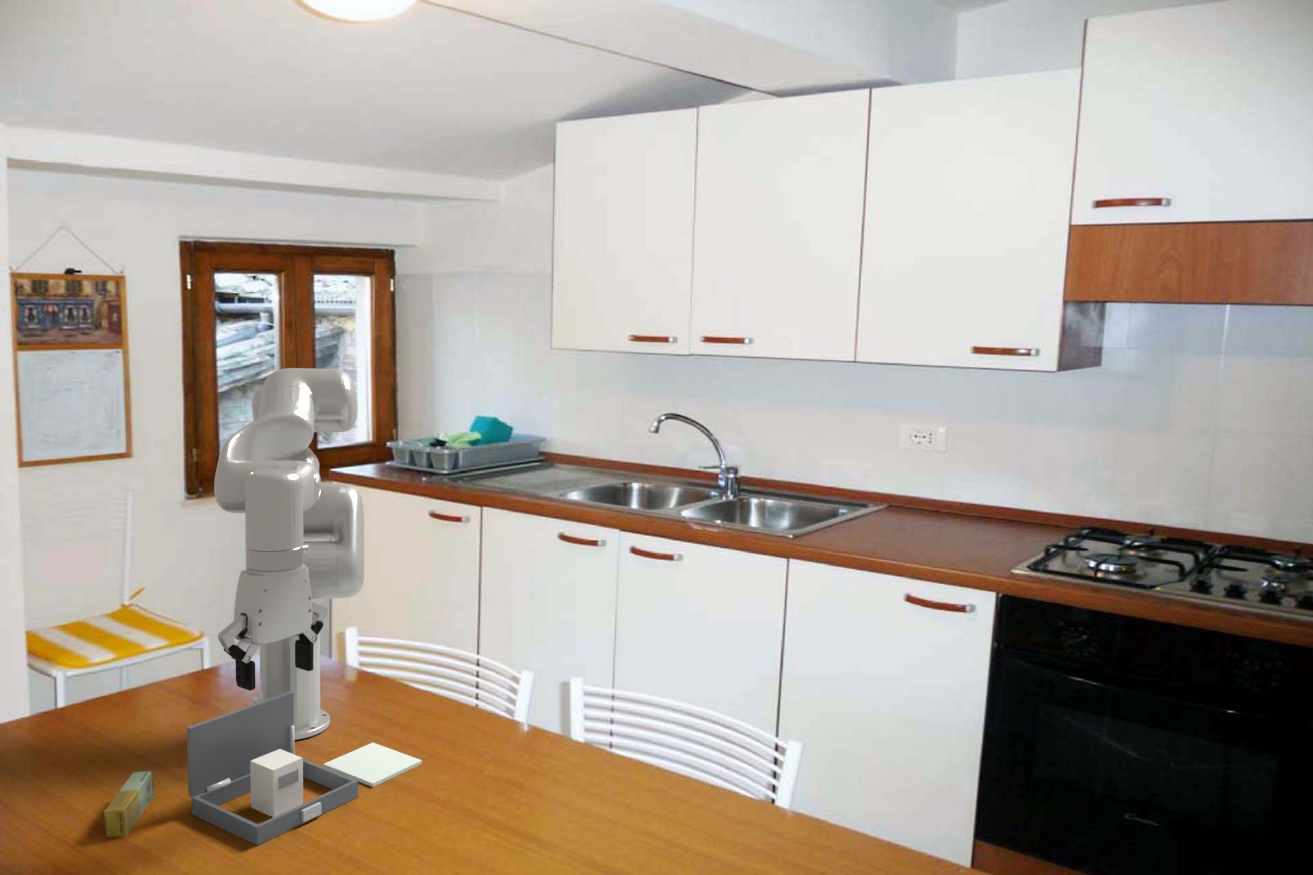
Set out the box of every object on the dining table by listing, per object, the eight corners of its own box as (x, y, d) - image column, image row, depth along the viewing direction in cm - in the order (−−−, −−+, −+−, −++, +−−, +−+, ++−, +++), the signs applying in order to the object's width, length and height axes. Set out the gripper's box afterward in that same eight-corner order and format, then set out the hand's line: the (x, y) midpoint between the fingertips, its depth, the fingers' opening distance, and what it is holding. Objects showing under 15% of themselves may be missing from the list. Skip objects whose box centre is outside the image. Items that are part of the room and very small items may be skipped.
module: (250, 807, 150) (250, 760, 149) (280, 794, 155) (279, 748, 154) (274, 818, 148) (274, 770, 147) (303, 804, 152) (303, 758, 151)
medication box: (134, 796, 153) (133, 770, 152) (154, 795, 153) (153, 769, 153) (104, 838, 141) (103, 810, 140) (126, 837, 141) (124, 809, 141)
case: (188, 812, 148) (186, 727, 146) (290, 769, 163) (290, 691, 161) (260, 846, 140) (258, 756, 138) (360, 797, 154) (360, 715, 153)
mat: (323, 767, 164) (323, 763, 163) (372, 745, 172) (372, 742, 172) (373, 787, 158) (373, 783, 158) (421, 763, 166) (421, 760, 166)
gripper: (307, 544, 156) (308, 657, 158) (201, 565, 141) (204, 689, 143) (342, 552, 152) (342, 667, 154) (237, 575, 137) (239, 702, 139)
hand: (275, 678), depth 148 cm, fingers open, 9 cm apart
